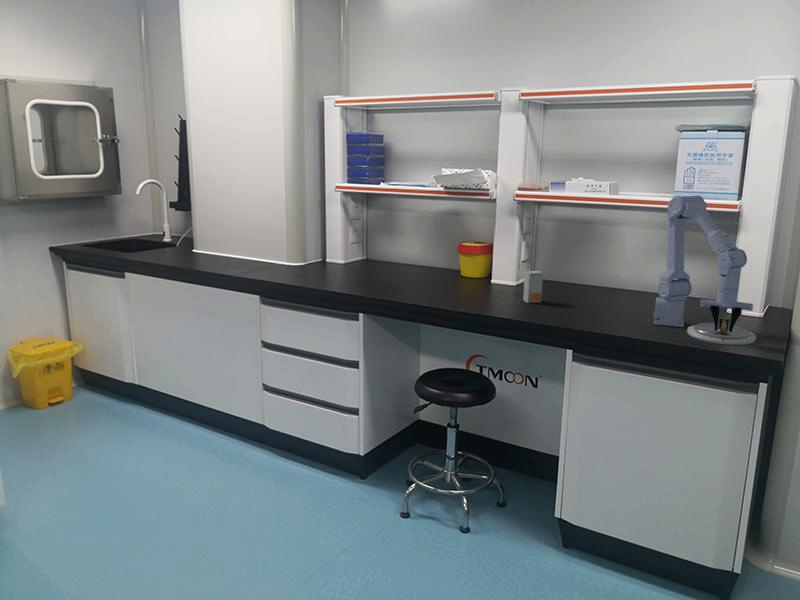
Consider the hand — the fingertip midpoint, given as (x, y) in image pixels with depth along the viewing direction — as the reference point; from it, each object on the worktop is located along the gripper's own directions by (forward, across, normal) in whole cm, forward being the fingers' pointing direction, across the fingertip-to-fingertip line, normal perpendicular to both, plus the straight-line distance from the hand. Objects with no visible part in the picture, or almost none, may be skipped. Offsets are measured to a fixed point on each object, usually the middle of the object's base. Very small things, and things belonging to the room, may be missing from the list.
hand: (723, 330), depth 203 cm
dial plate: (+3, 0, +6) cm, 7 cm away
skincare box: (+4, -66, +30) cm, 73 cm away
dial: (+2, 0, +6) cm, 6 cm away
